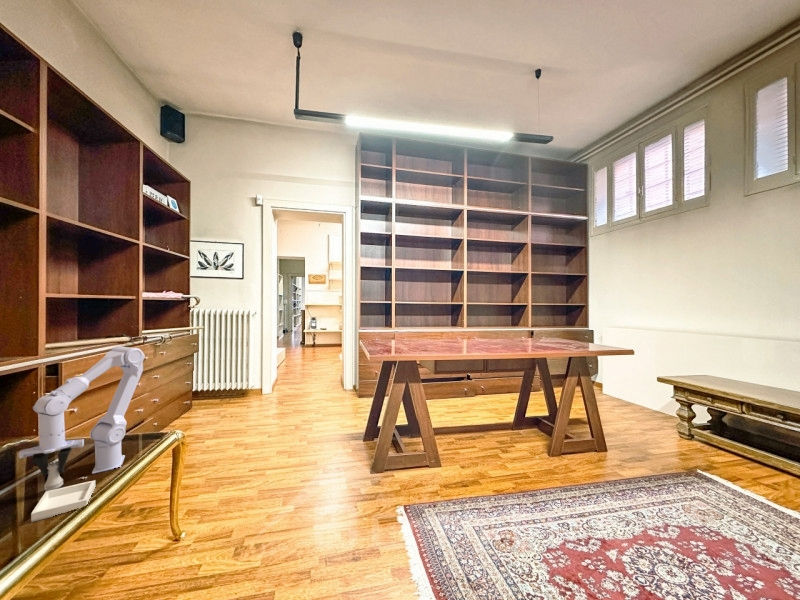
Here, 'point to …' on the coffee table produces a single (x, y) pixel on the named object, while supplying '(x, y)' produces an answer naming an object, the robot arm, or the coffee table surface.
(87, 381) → the robot arm
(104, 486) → the coffee table surface
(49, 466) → the rook chess piece
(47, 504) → the tray
